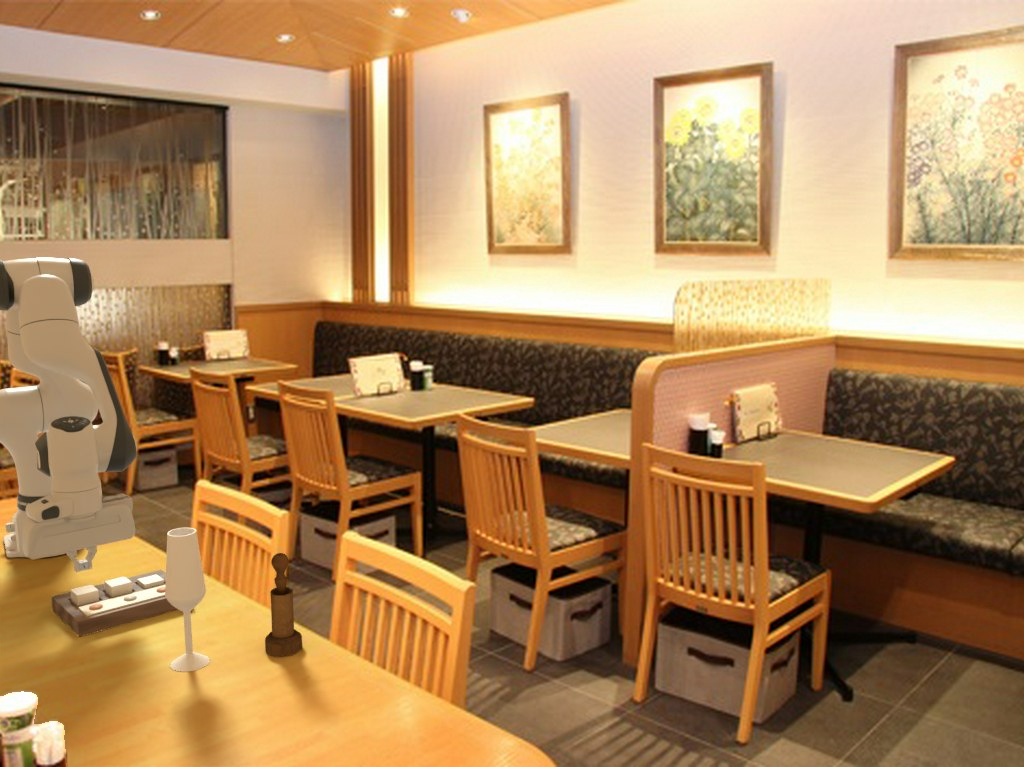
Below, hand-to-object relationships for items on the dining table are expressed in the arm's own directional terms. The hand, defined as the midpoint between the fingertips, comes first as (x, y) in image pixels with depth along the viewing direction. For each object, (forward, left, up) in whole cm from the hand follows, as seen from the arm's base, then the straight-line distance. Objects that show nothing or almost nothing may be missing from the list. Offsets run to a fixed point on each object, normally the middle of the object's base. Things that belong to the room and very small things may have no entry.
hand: (83, 569), depth 187 cm
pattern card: (+6, +7, -6) cm, 11 cm away
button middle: (0, +7, -7) cm, 10 cm away
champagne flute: (+34, +7, -9) cm, 36 cm away
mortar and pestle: (+40, +22, -9) cm, 46 cm away
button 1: (0, 0, -7) cm, 7 cm away
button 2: (0, +13, -8) cm, 15 cm away
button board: (+2, +7, -9) cm, 11 cm away
